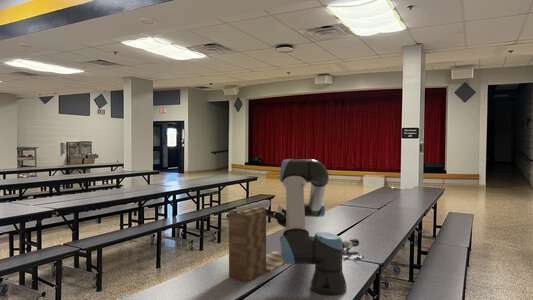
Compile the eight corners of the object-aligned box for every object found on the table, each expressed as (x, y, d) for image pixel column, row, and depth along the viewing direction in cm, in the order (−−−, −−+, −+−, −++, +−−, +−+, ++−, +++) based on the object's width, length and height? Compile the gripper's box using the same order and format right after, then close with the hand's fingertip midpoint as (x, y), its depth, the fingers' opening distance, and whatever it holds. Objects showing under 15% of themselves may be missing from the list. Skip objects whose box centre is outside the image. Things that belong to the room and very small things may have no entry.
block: (265, 205, 187) (265, 199, 187) (270, 206, 186) (270, 200, 186) (236, 213, 168) (235, 207, 167) (241, 214, 166) (241, 208, 166)
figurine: (302, 242, 212) (348, 231, 220) (304, 254, 212) (350, 243, 220) (317, 254, 190) (368, 241, 198) (319, 267, 191) (370, 255, 198)
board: (275, 252, 206) (275, 250, 206) (296, 256, 198) (296, 255, 198) (247, 265, 185) (247, 263, 185) (270, 271, 177) (270, 269, 177)
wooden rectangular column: (249, 267, 183) (249, 204, 182) (266, 271, 177) (266, 206, 176) (229, 277, 170) (228, 210, 169) (246, 282, 164) (245, 212, 163)
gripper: (304, 230, 194) (286, 216, 178) (265, 224, 208) (245, 210, 192) (307, 216, 197) (289, 202, 181) (269, 211, 211) (249, 197, 195)
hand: (267, 206), depth 187 cm, fingers open, 13 cm apart
